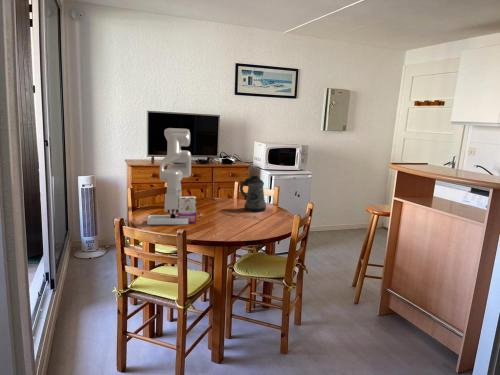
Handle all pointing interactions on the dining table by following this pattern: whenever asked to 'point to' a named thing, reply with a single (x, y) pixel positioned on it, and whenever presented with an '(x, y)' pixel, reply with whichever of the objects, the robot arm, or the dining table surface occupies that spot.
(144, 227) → the dining table surface
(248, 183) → the beer stein
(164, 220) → the acrylic channel
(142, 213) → the dining table surface
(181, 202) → the candy bar box
